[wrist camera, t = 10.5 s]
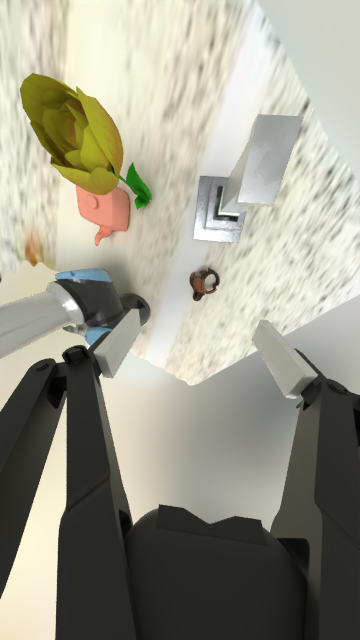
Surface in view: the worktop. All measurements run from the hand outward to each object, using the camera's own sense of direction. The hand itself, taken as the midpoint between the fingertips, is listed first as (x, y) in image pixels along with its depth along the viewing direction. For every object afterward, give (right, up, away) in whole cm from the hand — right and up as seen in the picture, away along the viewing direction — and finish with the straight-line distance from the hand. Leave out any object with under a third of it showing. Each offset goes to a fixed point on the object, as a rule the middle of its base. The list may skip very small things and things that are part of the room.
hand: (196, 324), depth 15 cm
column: (+9, +27, +16) cm, 33 cm away
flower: (-12, +36, +24) cm, 45 cm away
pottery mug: (+7, +15, +36) cm, 39 cm away
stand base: (+10, +32, +24) cm, 42 cm away
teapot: (-23, +34, +27) cm, 49 cm away
